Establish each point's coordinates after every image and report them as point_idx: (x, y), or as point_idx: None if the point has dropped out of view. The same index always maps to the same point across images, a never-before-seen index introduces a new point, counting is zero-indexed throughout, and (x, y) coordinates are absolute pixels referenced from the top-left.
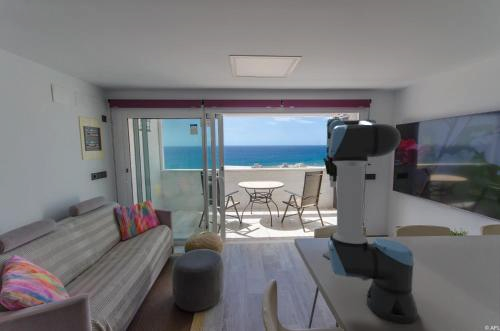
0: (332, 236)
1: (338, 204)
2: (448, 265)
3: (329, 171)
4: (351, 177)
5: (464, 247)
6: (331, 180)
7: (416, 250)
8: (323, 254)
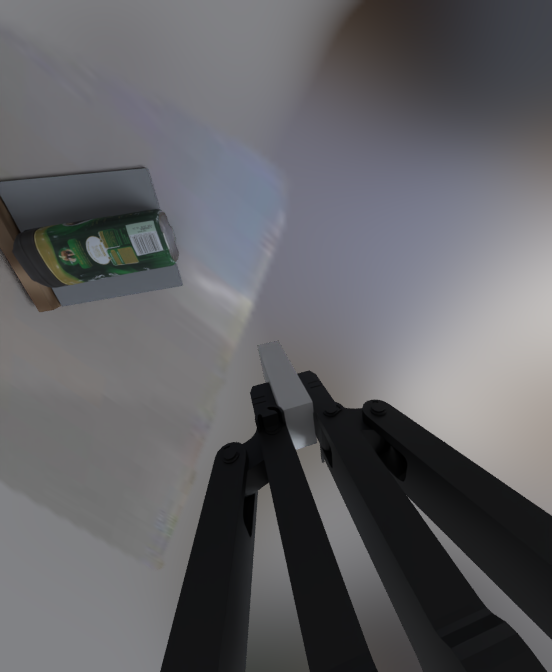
0: (146, 214)
1: None
2: (40, 434)
3: (361, 442)
4: None
5: (120, 508)
6: (282, 374)
7: (126, 428)
8: (144, 168)
